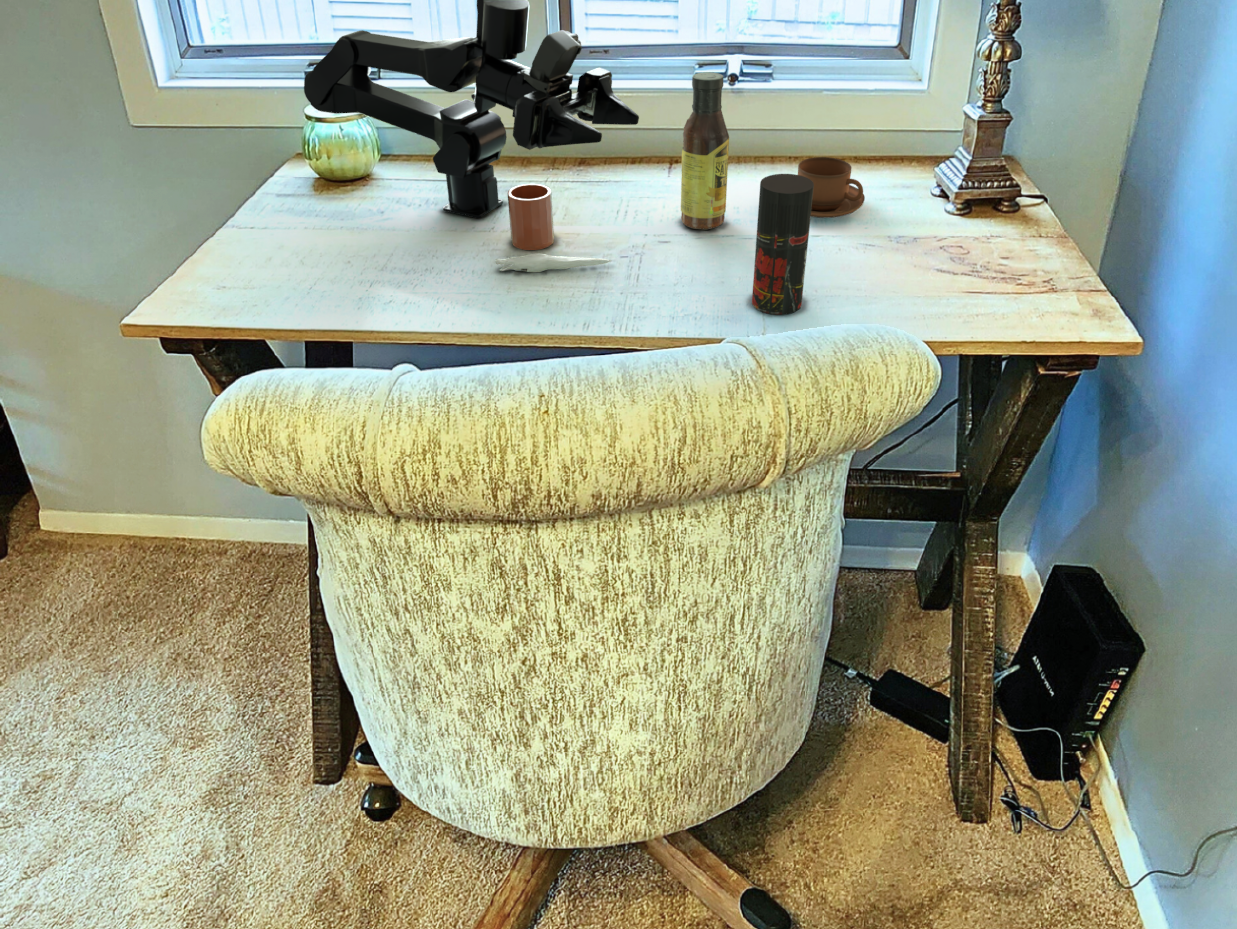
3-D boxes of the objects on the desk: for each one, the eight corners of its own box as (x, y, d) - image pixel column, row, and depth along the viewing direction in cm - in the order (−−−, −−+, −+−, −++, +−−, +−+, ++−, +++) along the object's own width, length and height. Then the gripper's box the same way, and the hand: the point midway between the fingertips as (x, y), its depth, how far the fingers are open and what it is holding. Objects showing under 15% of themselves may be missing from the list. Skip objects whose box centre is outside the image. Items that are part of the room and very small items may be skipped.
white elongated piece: (495, 275, 131) (494, 261, 129) (496, 266, 133) (495, 252, 132) (612, 271, 131) (612, 258, 130) (611, 262, 133) (611, 249, 132)
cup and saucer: (868, 197, 149) (874, 155, 146) (856, 229, 140) (861, 186, 137) (787, 188, 153) (790, 147, 149) (770, 219, 143) (773, 176, 140)
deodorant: (747, 293, 126) (755, 174, 117) (795, 290, 126) (807, 172, 117) (757, 316, 121) (766, 194, 112) (806, 313, 121) (819, 192, 112)
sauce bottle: (722, 233, 140) (729, 84, 128) (677, 230, 141) (680, 82, 129) (727, 214, 145) (735, 70, 133) (684, 211, 146) (687, 68, 134)
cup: (503, 245, 138) (499, 195, 134) (526, 229, 142) (522, 181, 138) (539, 253, 136) (536, 203, 131) (561, 237, 140) (559, 188, 135)
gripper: (481, 37, 122) (590, 80, 117) (566, 12, 135) (668, 50, 130) (473, 128, 129) (576, 172, 124) (555, 96, 142) (651, 134, 137)
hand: (620, 128), depth 129 cm, fingers open, 9 cm apart
